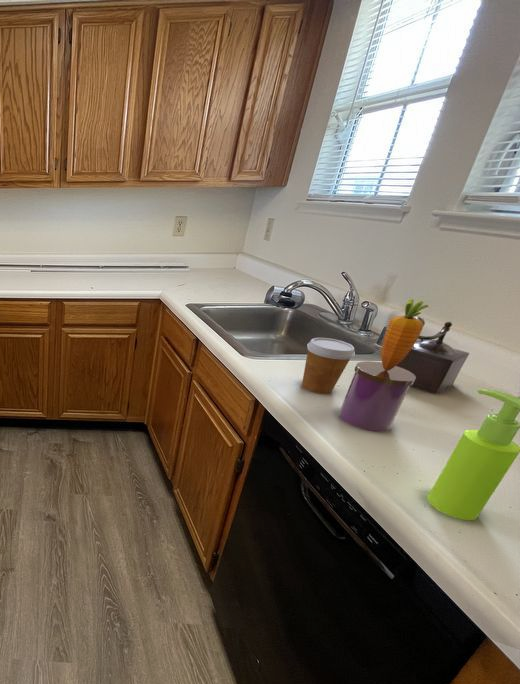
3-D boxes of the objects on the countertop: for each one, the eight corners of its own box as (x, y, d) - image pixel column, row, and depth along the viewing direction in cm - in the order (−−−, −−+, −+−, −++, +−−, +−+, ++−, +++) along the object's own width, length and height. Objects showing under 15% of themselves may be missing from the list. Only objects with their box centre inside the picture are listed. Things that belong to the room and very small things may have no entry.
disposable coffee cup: (298, 376, 110) (312, 334, 105) (341, 388, 105) (358, 343, 99) (290, 389, 104) (305, 344, 99) (336, 401, 98) (354, 355, 93)
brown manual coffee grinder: (401, 370, 115) (429, 306, 107) (453, 386, 106) (488, 318, 98) (373, 382, 108) (402, 315, 100) (427, 400, 99) (462, 329, 91)
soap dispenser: (439, 489, 71) (499, 385, 62) (486, 519, 65) (560, 408, 56) (410, 492, 70) (467, 387, 61) (456, 523, 64) (526, 411, 55)
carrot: (373, 363, 88) (402, 294, 82) (403, 371, 85) (436, 299, 78) (368, 370, 85) (398, 298, 79) (399, 378, 82) (432, 304, 75)
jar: (386, 417, 92) (409, 367, 87) (395, 438, 85) (421, 385, 79) (334, 406, 96) (353, 357, 91) (339, 425, 89) (359, 374, 84)
